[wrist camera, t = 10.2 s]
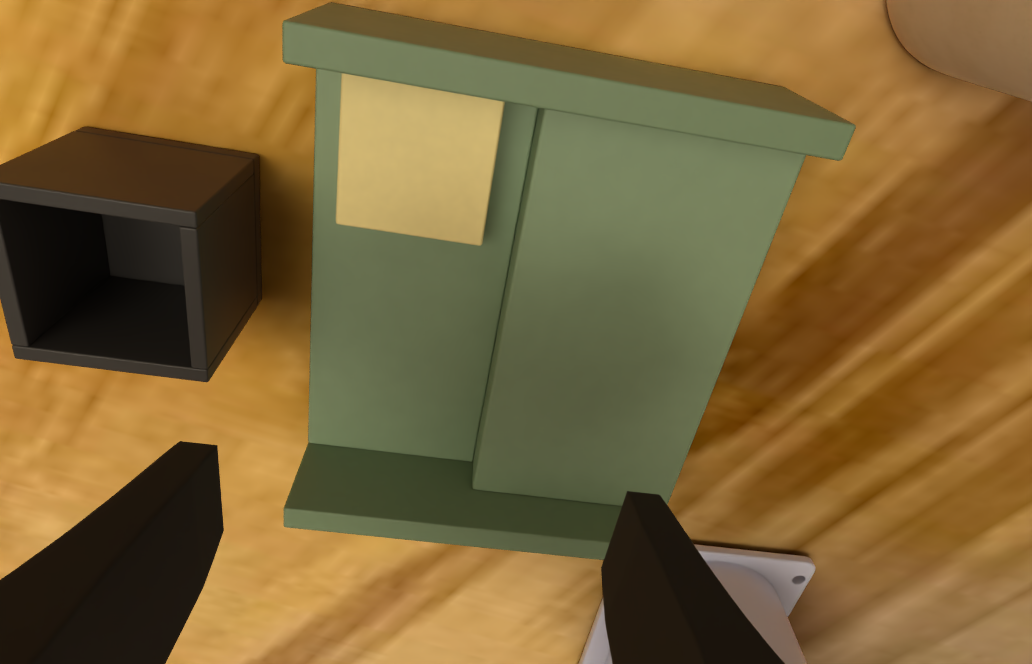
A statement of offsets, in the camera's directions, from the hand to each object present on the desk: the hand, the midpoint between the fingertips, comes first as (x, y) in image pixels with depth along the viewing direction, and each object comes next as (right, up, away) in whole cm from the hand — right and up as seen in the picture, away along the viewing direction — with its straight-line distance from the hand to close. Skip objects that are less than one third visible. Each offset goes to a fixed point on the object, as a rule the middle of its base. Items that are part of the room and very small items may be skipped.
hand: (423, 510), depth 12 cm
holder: (-8, +6, +7) cm, 13 cm away
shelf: (+2, +5, +9) cm, 10 cm away
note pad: (-1, +8, +5) cm, 9 cm away
